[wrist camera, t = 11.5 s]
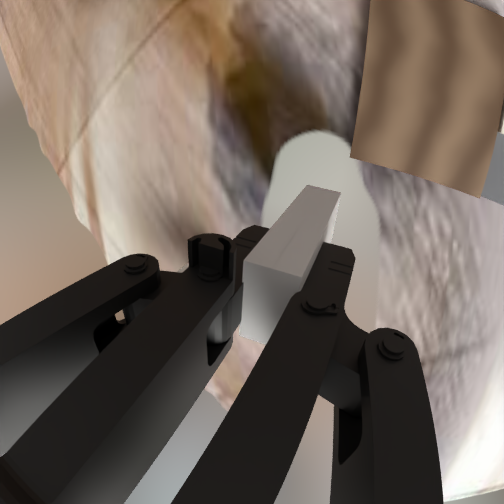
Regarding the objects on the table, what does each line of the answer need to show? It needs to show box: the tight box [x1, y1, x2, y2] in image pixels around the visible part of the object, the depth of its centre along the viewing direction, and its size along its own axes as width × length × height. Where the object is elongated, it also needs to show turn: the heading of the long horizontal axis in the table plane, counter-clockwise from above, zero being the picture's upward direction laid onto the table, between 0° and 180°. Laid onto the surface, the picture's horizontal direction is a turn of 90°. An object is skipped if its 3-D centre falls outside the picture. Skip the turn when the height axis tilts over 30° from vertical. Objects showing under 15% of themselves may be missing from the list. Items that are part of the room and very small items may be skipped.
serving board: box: [350, 0, 504, 198], centre depth 24 cm, size 16×22×2 cm
